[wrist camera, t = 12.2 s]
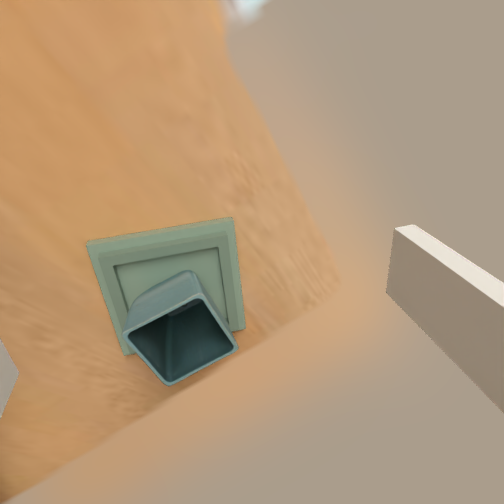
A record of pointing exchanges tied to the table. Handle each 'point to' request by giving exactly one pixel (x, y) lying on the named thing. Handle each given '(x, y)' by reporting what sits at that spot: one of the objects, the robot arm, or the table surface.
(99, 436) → the table surface
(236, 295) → the baseplate
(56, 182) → the table surface
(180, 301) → the flower pot
